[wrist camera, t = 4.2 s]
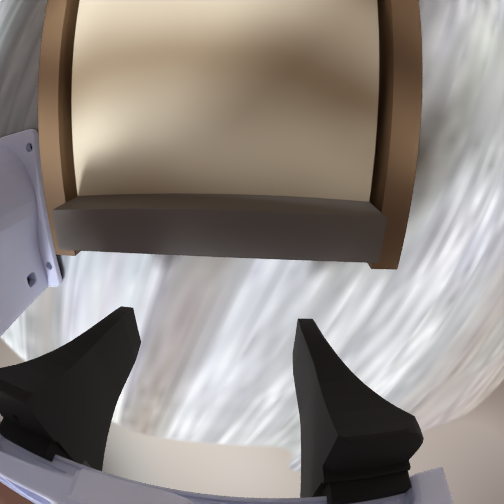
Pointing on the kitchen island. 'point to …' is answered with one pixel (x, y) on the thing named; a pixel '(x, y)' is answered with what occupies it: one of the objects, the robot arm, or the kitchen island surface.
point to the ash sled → (225, 129)
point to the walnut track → (388, 121)
